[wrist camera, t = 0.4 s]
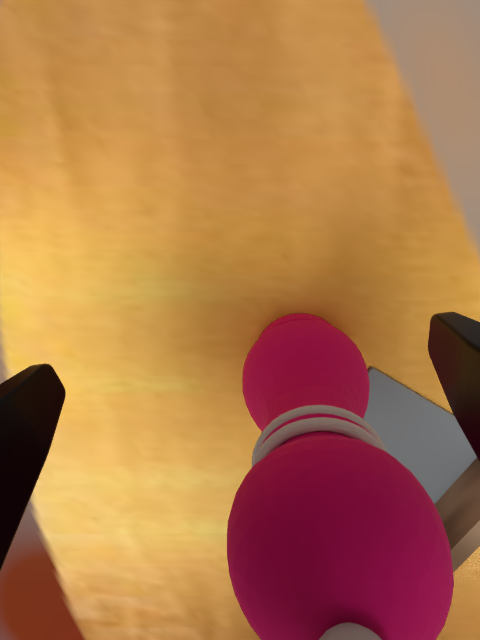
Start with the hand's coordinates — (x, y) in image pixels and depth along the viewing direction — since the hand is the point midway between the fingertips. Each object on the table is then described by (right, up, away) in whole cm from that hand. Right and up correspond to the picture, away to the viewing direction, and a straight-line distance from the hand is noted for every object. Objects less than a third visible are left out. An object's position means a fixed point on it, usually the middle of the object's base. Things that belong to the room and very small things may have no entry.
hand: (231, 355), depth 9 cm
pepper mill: (+4, -2, +17) cm, 18 cm away
